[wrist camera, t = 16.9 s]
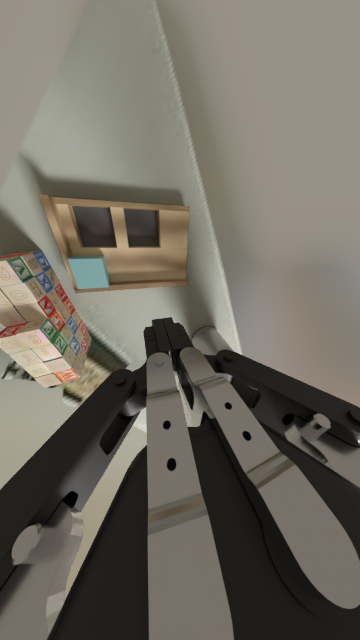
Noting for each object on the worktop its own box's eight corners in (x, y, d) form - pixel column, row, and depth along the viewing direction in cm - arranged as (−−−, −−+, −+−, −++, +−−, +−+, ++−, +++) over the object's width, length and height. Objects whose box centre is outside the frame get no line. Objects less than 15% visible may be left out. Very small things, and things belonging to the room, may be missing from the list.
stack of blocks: (0, 254, 25) (-83, 274, 15) (42, 249, 26) (-11, 264, 16) (66, 345, 37) (43, 389, 27) (92, 339, 38) (80, 379, 28)
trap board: (182, 278, 36) (188, 284, 33) (81, 284, 31) (75, 293, 27) (185, 207, 29) (193, 205, 25) (52, 199, 23) (38, 194, 20)
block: (110, 282, 30) (108, 287, 27) (82, 283, 29) (78, 289, 26) (104, 255, 27) (101, 258, 25) (73, 255, 26) (67, 259, 23)
